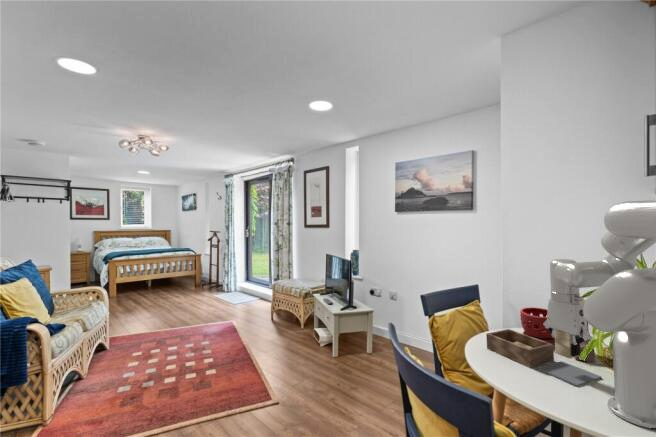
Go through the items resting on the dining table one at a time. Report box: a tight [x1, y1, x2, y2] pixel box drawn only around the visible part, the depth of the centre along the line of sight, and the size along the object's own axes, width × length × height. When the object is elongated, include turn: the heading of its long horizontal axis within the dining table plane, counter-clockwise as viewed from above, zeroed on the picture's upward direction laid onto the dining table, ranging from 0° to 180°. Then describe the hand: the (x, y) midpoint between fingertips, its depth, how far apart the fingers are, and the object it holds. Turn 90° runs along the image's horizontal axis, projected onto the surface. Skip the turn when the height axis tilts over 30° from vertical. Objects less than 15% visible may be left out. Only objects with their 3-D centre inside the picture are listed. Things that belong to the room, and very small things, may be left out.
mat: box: [537, 360, 603, 388], centre depth 103 cm, size 12×12×1 cm
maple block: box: [554, 329, 579, 359], centre depth 103 cm, size 4×4×8 cm
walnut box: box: [486, 328, 555, 369], centre depth 118 cm, size 18×12×6 cm, turn 21°
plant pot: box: [519, 307, 554, 344], centre depth 131 cm, size 13×13×12 cm
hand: (566, 351), depth 103 cm, fingers closed on maple block, 4 cm apart
